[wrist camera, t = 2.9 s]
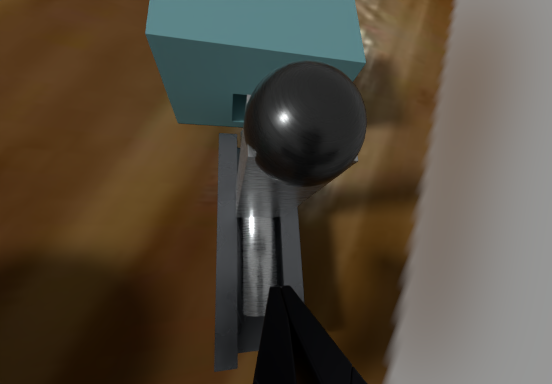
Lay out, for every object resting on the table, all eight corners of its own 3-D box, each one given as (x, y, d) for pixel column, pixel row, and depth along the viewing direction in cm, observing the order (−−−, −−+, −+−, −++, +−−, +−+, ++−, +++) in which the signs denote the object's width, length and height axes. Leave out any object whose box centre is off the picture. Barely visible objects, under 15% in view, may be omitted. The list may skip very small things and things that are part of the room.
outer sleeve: (293, 339, 16) (308, 358, 13) (216, 349, 15) (214, 371, 12) (282, 155, 20) (292, 137, 17) (220, 153, 19) (219, 133, 16)
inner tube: (282, 306, 15) (477, 475, 3) (233, 310, 15) (258, 541, 3) (274, 142, 19) (359, -72, 7) (233, 139, 18) (245, -102, 6)
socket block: (317, 132, 21) (366, 63, 14) (178, 123, 19) (145, 33, 11) (309, 61, 23) (348, -33, 16) (183, 44, 21) (159, -75, 14)
